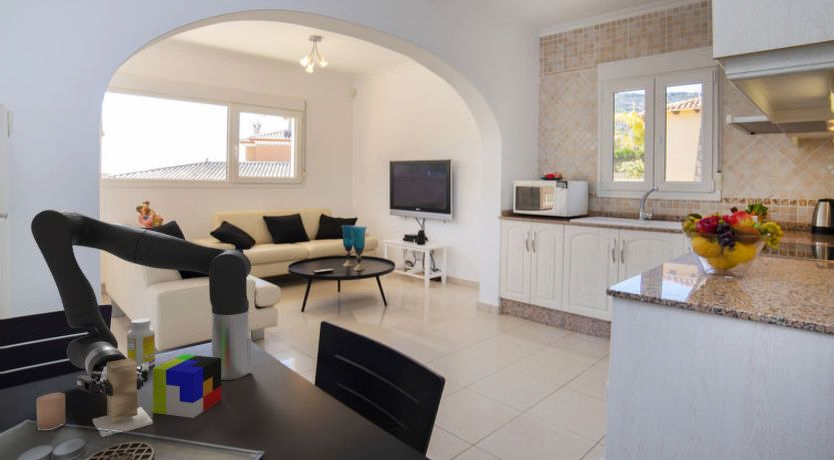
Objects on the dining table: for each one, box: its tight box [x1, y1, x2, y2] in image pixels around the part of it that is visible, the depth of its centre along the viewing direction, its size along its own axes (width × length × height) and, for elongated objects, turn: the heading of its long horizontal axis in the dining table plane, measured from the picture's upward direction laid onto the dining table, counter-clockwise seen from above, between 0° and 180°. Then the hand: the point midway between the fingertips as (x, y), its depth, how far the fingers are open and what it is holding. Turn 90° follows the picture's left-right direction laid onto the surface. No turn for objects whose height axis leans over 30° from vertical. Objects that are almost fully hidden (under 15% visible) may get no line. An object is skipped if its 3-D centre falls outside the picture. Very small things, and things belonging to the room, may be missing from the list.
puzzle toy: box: [152, 353, 222, 419], centre depth 108 cm, size 10×10×10 cm
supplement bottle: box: [126, 318, 156, 368], centre depth 132 cm, size 7×7×13 cm
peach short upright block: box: [36, 392, 67, 429], centre depth 97 cm, size 5×5×6 cm
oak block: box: [106, 357, 138, 422], centre depth 99 cm, size 4×4×11 cm
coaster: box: [92, 406, 154, 436], centre depth 99 cm, size 9×9×1 cm
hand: (125, 387), depth 97 cm, fingers closed on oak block, 4 cm apart
